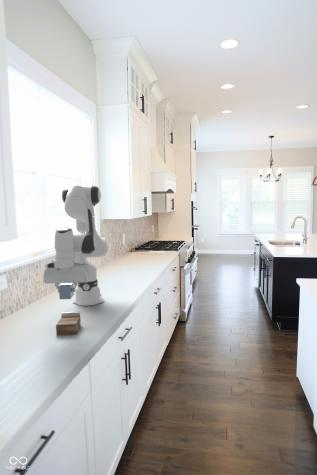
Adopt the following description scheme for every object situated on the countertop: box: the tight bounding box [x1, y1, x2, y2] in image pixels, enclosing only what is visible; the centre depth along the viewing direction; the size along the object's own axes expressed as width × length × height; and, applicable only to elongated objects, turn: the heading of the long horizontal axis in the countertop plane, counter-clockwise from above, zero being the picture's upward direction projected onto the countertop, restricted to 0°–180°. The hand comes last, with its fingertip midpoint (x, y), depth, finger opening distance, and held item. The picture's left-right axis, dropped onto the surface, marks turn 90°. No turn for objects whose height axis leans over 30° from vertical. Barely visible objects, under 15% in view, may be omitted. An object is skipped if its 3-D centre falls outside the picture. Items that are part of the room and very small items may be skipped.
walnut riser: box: [55, 311, 82, 336], centre depth 160 cm, size 12×9×7 cm
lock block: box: [58, 283, 75, 300], centre depth 157 cm, size 8×5×6 cm, turn 4°
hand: (66, 292), depth 157 cm, fingers closed on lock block, 5 cm apart
